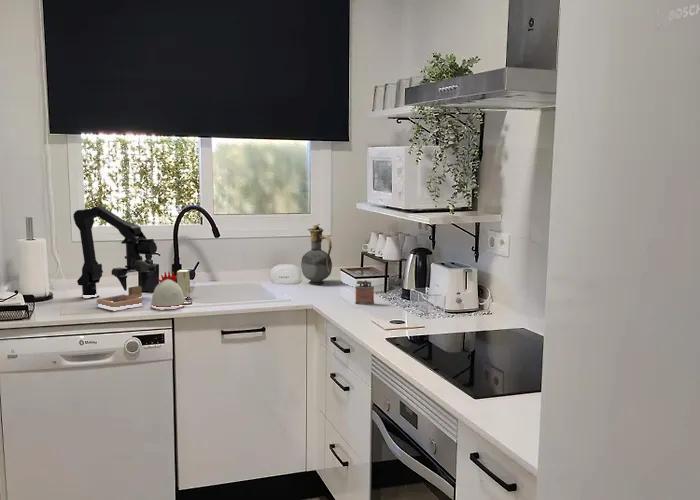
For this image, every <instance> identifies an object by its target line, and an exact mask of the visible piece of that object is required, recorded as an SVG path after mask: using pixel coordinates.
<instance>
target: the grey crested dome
mask: <svg viewBox="0 0 700 500" xmlns="http://www.w3.org/2000/svg"><path fill="white" fill-rule="evenodd" d="M177 275H178V274H177V273H176V275H175V271H172V274H171V273H170V271H168V273H166V271H164V276H163V274H160V277H161V279H160V278H159V277H157V280H158V284H157V285H156V286H155V288H154V291H153V294H152V297H151V302H150V305H153V306H156V307H171V306H179V305H182V304H183V303H184V302H185V303H186V298H184V295H183V292H182V288H181V287H180V286H179V285H178V284H177Z"/></svg>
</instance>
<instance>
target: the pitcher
mask: <svg viewBox="0 0 700 500" xmlns="http://www.w3.org/2000/svg"><path fill="white" fill-rule="evenodd" d="M320 225H321V223H318V224H314V225H312V226H311V227H312V228H309V227H308V228H307V231H308V232H310V233H309V234H310V244H311V245H310V246H311V248H310V250H308V251H306V252H305V253H304V254H303V256H302V257H301V261H300V267H301V272H302V275H303V276H304V278H306V279H308V280H309V282H308V284H309V285H313V286H321V285H324V284H325V281H324V280H326V279H327V278H328V277H329V276H331V273H332V269H333V262H332V258H331V256H330V254H331V253H332V252H331V251H332V247H333V246H332V240H331V238H330V237H329V236H327V235H323V232H324V228H323V227H320ZM323 240H327V243H328V250H327V251H328V253H327V252H326V251H325V250H322V242H323Z"/></svg>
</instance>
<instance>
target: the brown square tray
mask: <svg viewBox="0 0 700 500" xmlns="http://www.w3.org/2000/svg"><path fill="white" fill-rule="evenodd" d="M111 301H113V302H111ZM97 303H98V304H102V305H106V306H110V307H120V306H126V305H133V304H139V303H142V304H143V297H142V298H139V297H134V296H129V294H125V293H124V294H120V295H114V296H113V295H112V296H108V297H102V298H97V299H96V304H97Z"/></svg>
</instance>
